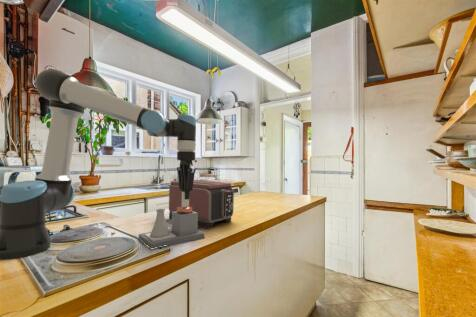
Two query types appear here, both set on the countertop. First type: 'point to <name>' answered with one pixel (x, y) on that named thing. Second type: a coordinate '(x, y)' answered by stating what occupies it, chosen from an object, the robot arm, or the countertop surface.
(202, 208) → the toaster
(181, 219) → the press
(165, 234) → the flask
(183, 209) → the copper ovoid
